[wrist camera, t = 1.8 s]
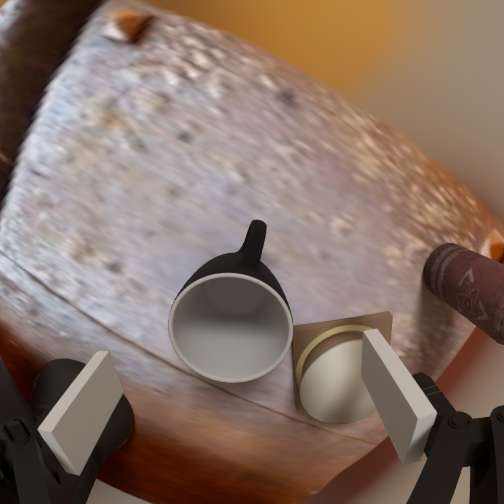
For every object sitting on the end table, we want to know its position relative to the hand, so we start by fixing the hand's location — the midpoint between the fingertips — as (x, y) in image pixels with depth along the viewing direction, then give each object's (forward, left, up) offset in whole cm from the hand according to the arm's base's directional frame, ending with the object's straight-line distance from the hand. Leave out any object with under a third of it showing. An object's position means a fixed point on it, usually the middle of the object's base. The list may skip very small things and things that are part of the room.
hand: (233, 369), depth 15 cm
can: (+23, -3, -17) cm, 28 cm away
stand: (+10, -12, -17) cm, 23 cm away
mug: (0, 0, -17) cm, 17 cm away
